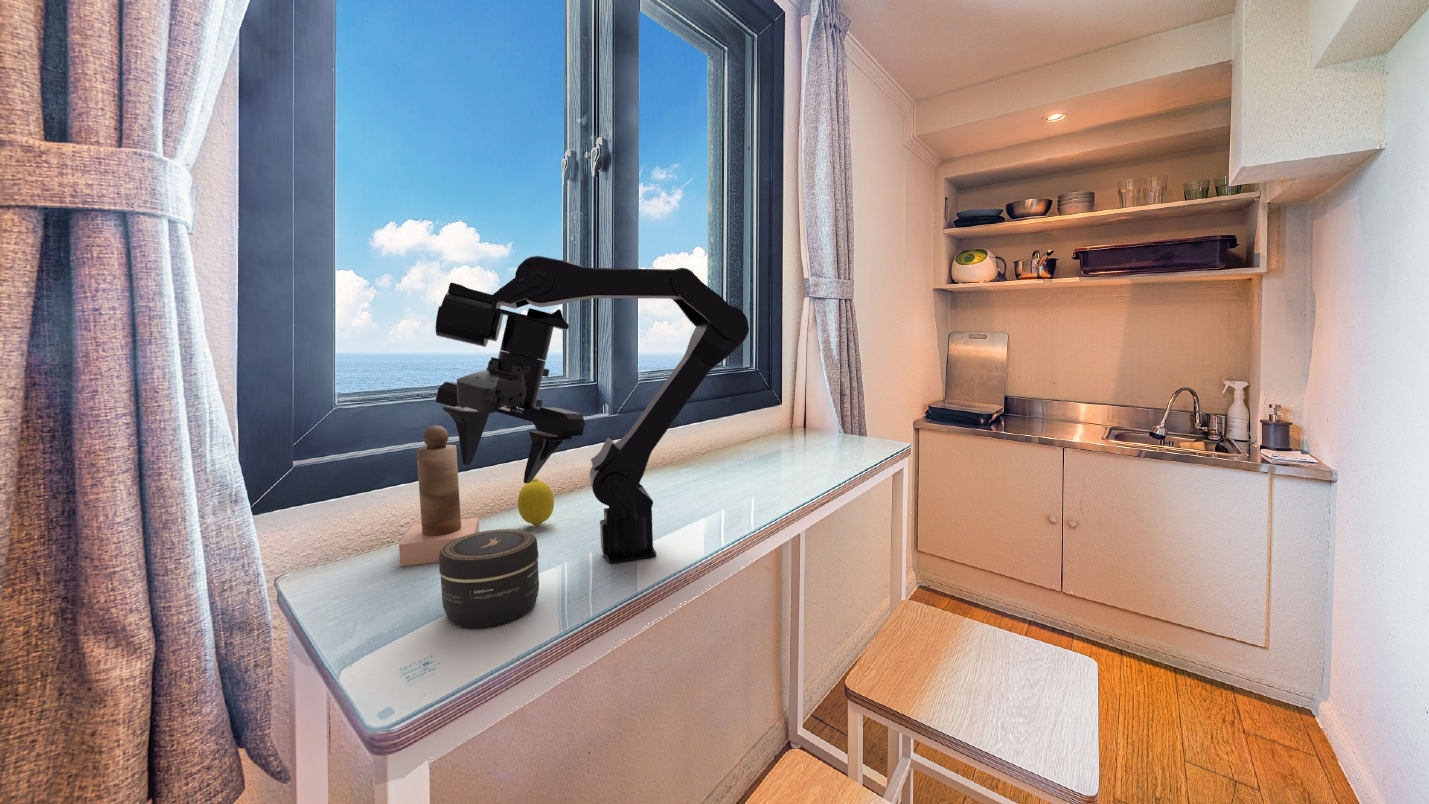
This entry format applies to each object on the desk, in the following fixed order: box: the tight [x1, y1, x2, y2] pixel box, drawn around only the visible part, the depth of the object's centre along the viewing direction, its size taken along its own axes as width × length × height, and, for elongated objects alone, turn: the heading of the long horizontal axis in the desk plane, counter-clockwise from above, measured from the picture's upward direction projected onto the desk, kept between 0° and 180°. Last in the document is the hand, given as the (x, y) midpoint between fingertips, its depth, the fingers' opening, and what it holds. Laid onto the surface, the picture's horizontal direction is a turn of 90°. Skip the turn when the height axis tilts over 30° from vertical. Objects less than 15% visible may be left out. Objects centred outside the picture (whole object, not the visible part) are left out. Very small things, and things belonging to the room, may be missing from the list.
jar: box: [438, 528, 540, 630], centre depth 58 cm, size 10×10×8 cm
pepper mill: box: [416, 424, 462, 536], centre depth 75 cm, size 5×5×15 cm
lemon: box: [517, 478, 555, 528], centre depth 86 cm, size 6×6×8 cm
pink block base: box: [398, 517, 480, 568], centre depth 76 cm, size 9×9×3 cm
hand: (496, 473), depth 68 cm, fingers open, 9 cm apart
